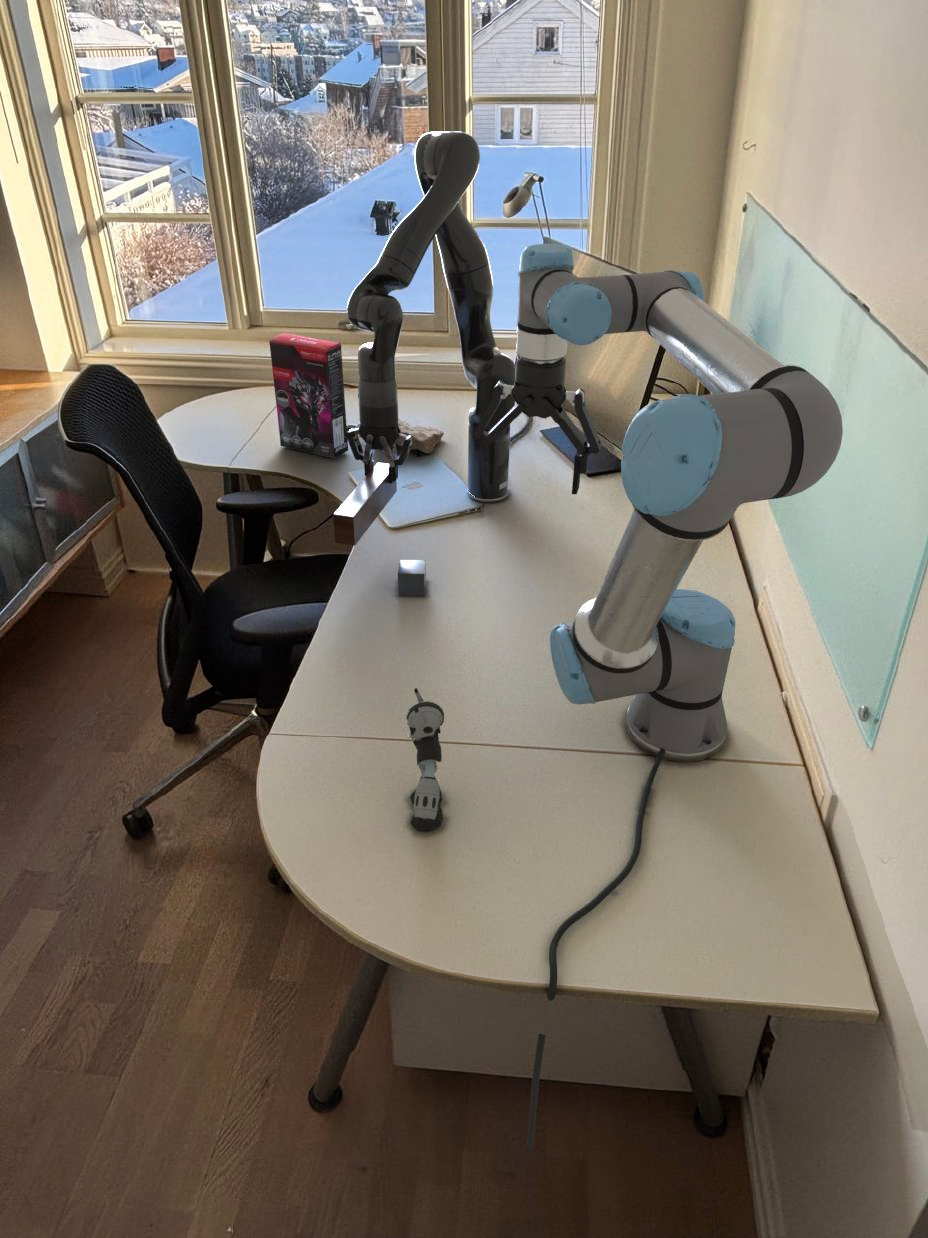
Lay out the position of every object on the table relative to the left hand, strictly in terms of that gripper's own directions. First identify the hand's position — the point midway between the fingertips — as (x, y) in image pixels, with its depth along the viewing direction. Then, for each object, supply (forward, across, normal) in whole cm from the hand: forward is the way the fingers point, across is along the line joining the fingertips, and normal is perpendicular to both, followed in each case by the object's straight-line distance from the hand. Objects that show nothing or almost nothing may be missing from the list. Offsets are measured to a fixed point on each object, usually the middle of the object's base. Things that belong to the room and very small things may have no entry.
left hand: (381, 480), depth 187 cm
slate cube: (+13, -12, +18) cm, 25 cm away
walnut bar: (+4, 0, +9) cm, 9 cm away
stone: (+13, +13, -48) cm, 51 cm away
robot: (+13, -33, +73) cm, 81 cm away
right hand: (-16, -36, +26) cm, 47 cm away
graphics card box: (+13, +32, -38) cm, 51 cm away
